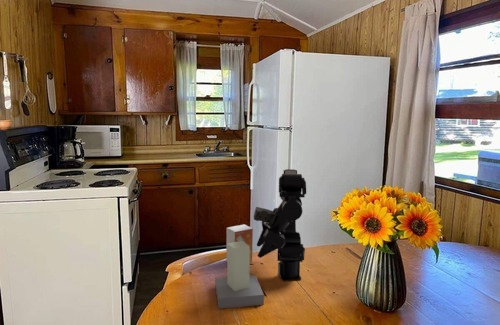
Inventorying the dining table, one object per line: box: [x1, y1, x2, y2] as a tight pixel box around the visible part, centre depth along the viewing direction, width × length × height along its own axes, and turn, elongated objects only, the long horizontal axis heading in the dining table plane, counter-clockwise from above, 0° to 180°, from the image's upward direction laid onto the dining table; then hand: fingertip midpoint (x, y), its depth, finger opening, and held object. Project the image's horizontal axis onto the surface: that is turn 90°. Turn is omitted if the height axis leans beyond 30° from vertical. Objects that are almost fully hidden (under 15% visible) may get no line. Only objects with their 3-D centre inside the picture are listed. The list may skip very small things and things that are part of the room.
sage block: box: [226, 241, 251, 291], centre depth 105 cm, size 5×5×13 cm
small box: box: [225, 224, 254, 263], centre depth 131 cm, size 8×6×13 cm
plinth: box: [214, 274, 265, 309], centre depth 106 cm, size 13×13×3 cm
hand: (258, 251), depth 112 cm, fingers open, 9 cm apart
